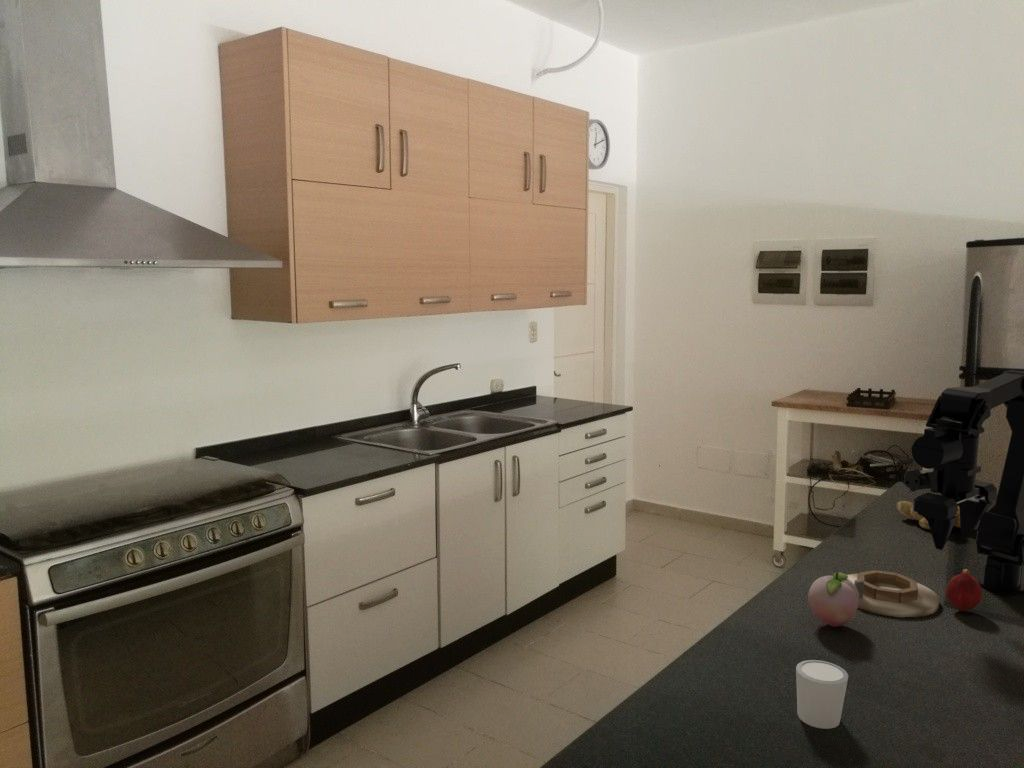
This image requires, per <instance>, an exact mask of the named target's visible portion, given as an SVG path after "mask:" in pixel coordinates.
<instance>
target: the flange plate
mask: <svg viewBox="0 0 1024 768" xmlns="http://www.w3.org/2000/svg"><path fill="white" fill-rule="evenodd" d="M846 575H847V576H848V578H847V579H848V580H850V581H851V582H853V584H854V585H855V586H856V588H857V590H858V592H859V603H858V609H859V610H862V611H865V612H868V613H872V614H877V615H880V614H881V616H887V617H892V616H893V618H905V617H914V618H922V617H928V616H931V615H933V614H935V613H936V612H937V611H938V610H939V607H940V597H939V596H938V594H937V593H935V591H934V590H932V589H931V588H928V587H927V586H925V585H923V584H921V583H919V582H918V581H916V580H915V579H912V578H910V577H907V576H905V575H903V574H900V573H898V572H892V571H886V570H885V571H884V570H874V569H873V570H867V571H861V572H858V573H851V574H846ZM934 612H935V613H934ZM930 614H931V615H930ZM927 615H928V616H927ZM921 616H922V617H921Z"/></svg>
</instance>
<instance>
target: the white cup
mask: <svg viewBox="0 0 1024 768" xmlns="http://www.w3.org/2000/svg"><path fill="white" fill-rule="evenodd" d="M795 680H796V683H795V684H796V707H797V708H796V710H797V711H796V712H797V717H798V718H799V720H801V722H803V723H804V724H806V725H808V726H810V727H813V728H817V729H823V730H824V729H826V730H830V729H833V728H835V729H836V728H837V727H838V726H839V725H840V724H841V718H842V712H843V709H844V702H845V697H846V692H847V691H846V690H847V685H848V681H849V673H847V670H846V669H844V668H842V667H841V666H839V665H838V664H835V663H832V662H830V661H825V660H816V659H808V660H802V661H800V662H799V663H797V665H796V667H795Z"/></svg>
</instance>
